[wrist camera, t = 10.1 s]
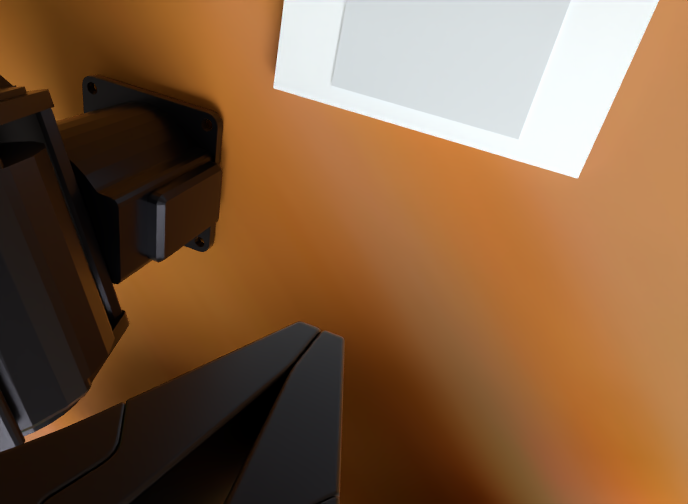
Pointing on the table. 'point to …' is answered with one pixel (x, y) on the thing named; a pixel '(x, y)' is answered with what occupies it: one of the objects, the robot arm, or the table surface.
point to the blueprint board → (469, 68)
